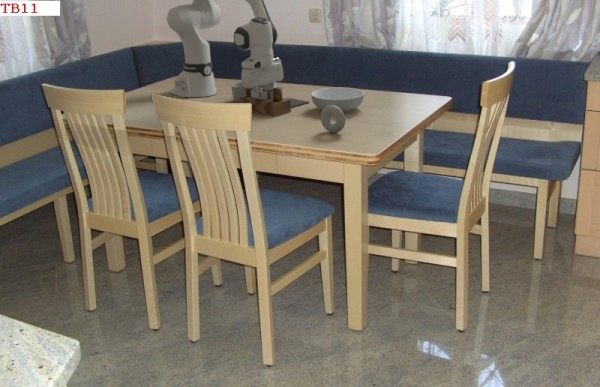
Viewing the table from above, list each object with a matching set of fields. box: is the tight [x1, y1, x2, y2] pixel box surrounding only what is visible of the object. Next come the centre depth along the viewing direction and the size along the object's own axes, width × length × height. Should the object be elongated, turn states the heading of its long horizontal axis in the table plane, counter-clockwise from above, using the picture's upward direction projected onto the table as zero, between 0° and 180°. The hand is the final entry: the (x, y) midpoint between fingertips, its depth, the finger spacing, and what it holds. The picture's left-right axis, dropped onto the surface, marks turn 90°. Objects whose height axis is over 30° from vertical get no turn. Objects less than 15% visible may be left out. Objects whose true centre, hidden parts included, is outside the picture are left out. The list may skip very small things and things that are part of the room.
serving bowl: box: [310, 86, 365, 113], centre depth 293 cm, size 21×21×7 cm
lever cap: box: [251, 88, 273, 101], centre depth 294 cm, size 9×5×4 cm, turn 48°
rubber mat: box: [285, 97, 310, 109], centre depth 306 cm, size 12×12×1 cm
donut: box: [320, 105, 346, 134], centre depth 261 cm, size 10×4×10 cm, turn 51°
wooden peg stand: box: [238, 86, 292, 117], centre depth 294 cm, size 20×9×13 cm, turn 48°
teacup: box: [230, 81, 246, 104], centre depth 311 cm, size 14×11×8 cm
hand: (263, 95), depth 294 cm, fingers closed on lever cap, 5 cm apart
